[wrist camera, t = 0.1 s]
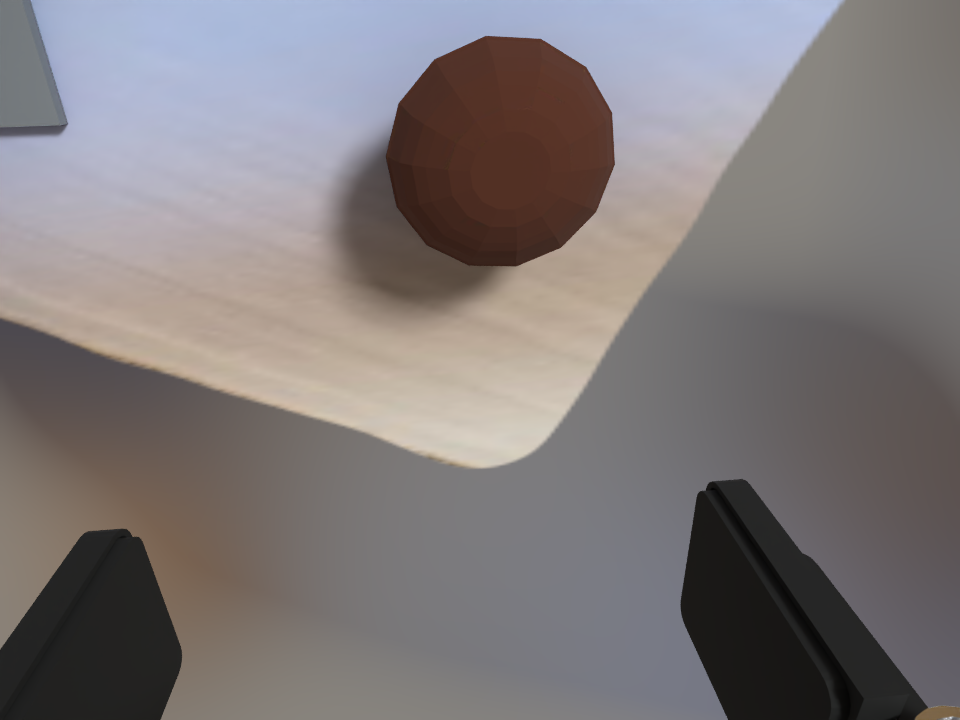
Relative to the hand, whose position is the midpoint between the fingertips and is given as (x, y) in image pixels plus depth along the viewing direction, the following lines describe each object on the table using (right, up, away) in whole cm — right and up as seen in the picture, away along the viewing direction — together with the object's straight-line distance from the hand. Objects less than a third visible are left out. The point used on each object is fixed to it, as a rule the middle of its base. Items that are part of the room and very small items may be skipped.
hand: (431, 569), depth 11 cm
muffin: (+1, +17, +27) cm, 32 cm away
